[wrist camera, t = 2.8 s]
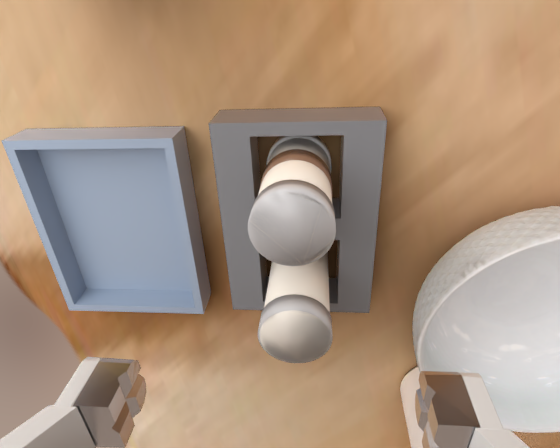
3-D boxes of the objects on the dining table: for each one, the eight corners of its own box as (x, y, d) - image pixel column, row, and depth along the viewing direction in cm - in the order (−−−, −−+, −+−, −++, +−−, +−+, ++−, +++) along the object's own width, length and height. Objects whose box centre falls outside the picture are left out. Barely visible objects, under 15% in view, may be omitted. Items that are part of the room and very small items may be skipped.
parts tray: (211, 293, 33) (203, 313, 31) (85, 290, 34) (69, 310, 32) (184, 126, 26) (172, 138, 24) (26, 128, 27) (1, 140, 25)
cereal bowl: (617, 127, 24) (718, 173, 18) (663, 311, 31) (749, 392, 25) (361, 243, 30) (372, 309, 24) (445, 378, 36) (471, 457, 30)
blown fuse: (330, 189, 28) (334, 266, 20) (269, 189, 28) (251, 265, 20) (331, 129, 26) (337, 190, 18) (266, 130, 26) (243, 190, 18)
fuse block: (365, 286, 32) (380, 382, 24) (239, 283, 33) (215, 375, 25) (379, 106, 25) (407, 160, 17) (219, 110, 26) (176, 162, 18)
